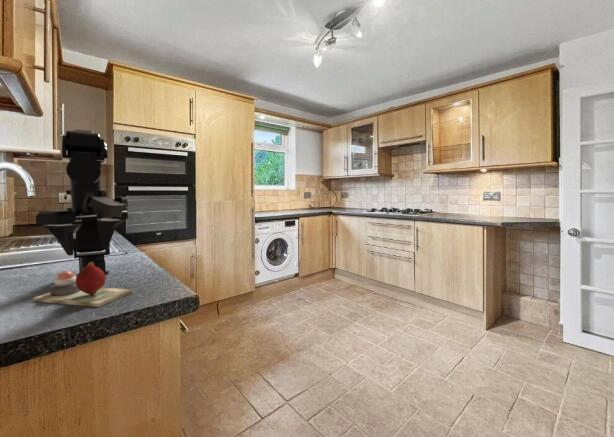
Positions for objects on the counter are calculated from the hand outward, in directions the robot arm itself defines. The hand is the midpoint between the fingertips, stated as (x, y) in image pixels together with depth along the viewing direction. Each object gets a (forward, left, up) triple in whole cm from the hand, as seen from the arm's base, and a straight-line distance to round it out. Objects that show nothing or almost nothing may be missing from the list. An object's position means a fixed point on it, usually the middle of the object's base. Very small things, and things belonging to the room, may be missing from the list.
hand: (89, 251), depth 70 cm
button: (-9, +1, -9) cm, 12 cm away
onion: (0, 0, -11) cm, 11 cm away
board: (-3, +1, -12) cm, 12 cm away
